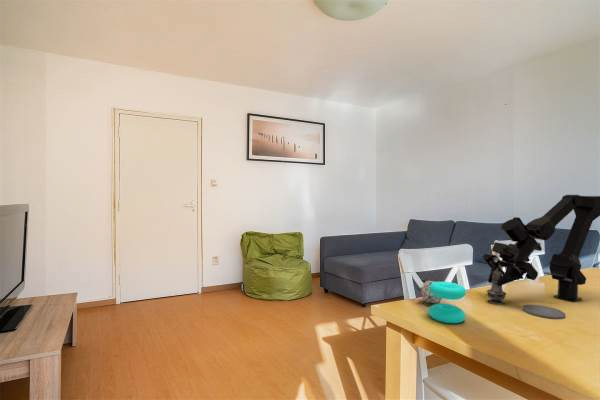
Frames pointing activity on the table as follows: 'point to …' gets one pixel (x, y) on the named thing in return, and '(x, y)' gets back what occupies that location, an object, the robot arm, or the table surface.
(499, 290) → the dark grey tall piece
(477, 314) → the table surface
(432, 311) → the donuts
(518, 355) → the table surface
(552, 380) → the table surface
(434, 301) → the game die
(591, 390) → the table surface
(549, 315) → the charcoal mat
